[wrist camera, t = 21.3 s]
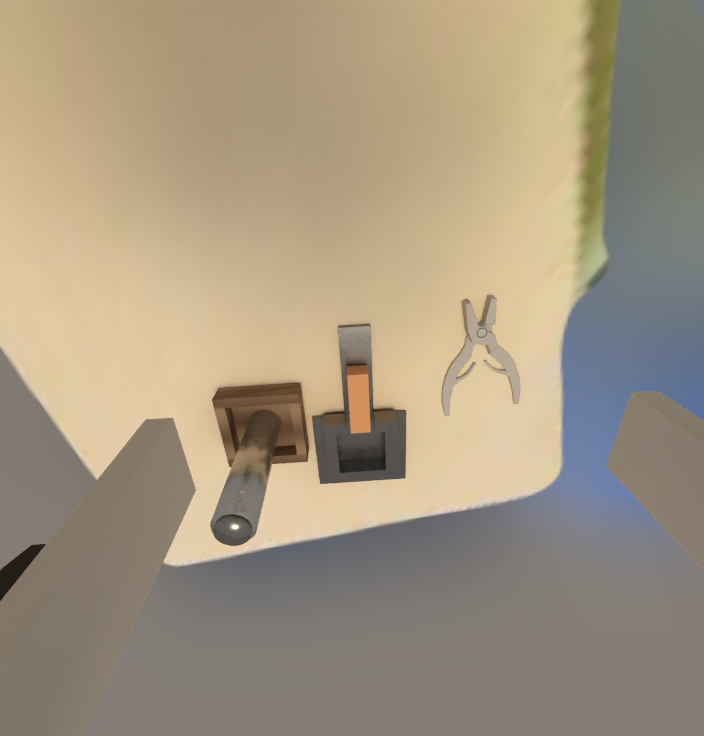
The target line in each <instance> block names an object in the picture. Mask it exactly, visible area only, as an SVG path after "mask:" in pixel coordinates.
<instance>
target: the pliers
mask: <svg viewBox="0 0 704 736" xmlns="http://www.w3.org/2000/svg"><path fill="white" fill-rule="evenodd" d="M496 302H497V299H496V298H495V297H493V296H487V300H486V304H485V308H484V312H483V316H482V320H481V322H480V323H478V322H477V319H476V316H475V313H474V311H473V308H472V305H471V302H470V301H469V300H465V301H462V305H463V314H464V323H465V328H466V330H467V333H468V335H467V336H466V339H465V344H464V346H463V348H462V350H461V351H460V353H459V354H458V355H457V357H456V358H455V359H454V360H453V361H452V363H451V364H450V366H449V368H448V370H447V373H446V375H445V379H444V382H443V387H442V405H443V409H444V413H445V416H449V409H450V399H451V394H452V390H453V386H454V385H455V384H456V383H458V382H459V381H461V380H463V379H464V378H465V377H467V376H468V375H469V374H470V372H471V371H472V370H473V368H474V366H475V365H476V363H475V362H473V363H472V365H471V366H470V368H469V369H468V370H467V372H465V373H464V374H463V375H462V376H459V377H457V375H458V373H459V372H460V371H461V369H462V368H463V367H464V365H465V364H466V363H467V362H468V361H469V359H470V358H471V355H472V351H473V347H474V344H484V345H486V347H487V350H488V353H489V354H490V355H491V356H492V357H493V358H495V359H496V360H497V361H498V362H499V363H501V364H502V366H503V367H504V369H496V368H494V367H492V366H491V365H490V364H489V363H488V362H487V361H486V360H484V362H485V363H486V365H487V366H488V367H489V368H490V369H491V370H493V371H495V372H497V373H500V374H505V375H507V376H508V378H509V381H510V385H511V390H512V396H513V403H514V404H518V402H519V397H520V377H519V374H518V370H517V368H516V365H515V363H514V361H513V359H512V358H511V357H510V355H509V354H508V353H507V352H506V351H504V350H503V349H502V348H500V347H499V345H498V344H497V341H496V337H495V335H494V334H492V333H491V329H492V325H493V324H495V321H496Z"/></svg>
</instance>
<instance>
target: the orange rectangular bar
mask: <svg viewBox="0 0 704 736" xmlns="http://www.w3.org/2000/svg"><path fill="white" fill-rule="evenodd" d="M346 367H347V383H348V398H349V412H350V427H351V434H352V433H367V432H371V430H370V405H369V379H368V369H367V365H356V366H346Z"/></svg>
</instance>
